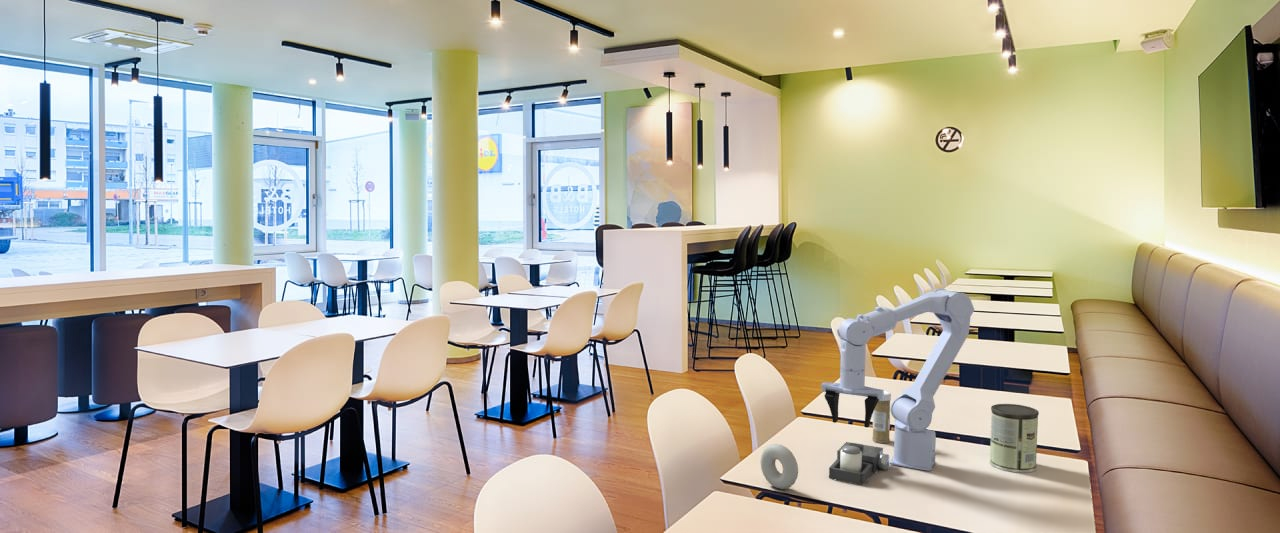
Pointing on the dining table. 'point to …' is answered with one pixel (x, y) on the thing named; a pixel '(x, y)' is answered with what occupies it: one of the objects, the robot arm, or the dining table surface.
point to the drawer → (871, 456)
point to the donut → (787, 463)
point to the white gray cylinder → (851, 458)
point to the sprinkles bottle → (882, 419)
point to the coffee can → (1014, 437)
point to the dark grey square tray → (850, 473)
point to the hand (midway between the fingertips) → (851, 424)
